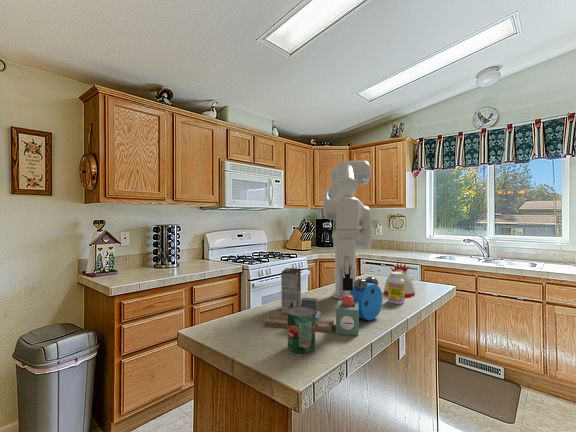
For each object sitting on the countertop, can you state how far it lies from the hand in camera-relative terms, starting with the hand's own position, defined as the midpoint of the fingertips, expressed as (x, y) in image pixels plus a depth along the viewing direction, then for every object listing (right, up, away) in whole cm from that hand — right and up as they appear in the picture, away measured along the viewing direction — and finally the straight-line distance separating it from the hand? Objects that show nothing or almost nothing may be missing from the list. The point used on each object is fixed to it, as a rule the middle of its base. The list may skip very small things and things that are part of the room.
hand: (347, 289), depth 102 cm
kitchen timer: (+34, -13, +47) cm, 59 cm away
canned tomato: (-16, -14, -15) cm, 26 cm away
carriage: (-13, -11, +4) cm, 17 cm away
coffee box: (-18, -13, +21) cm, 31 cm away
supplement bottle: (+27, -13, +32) cm, 44 cm away
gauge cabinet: (0, -13, +1) cm, 13 cm away
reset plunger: (0, -7, +1) cm, 7 cm away
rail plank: (-16, -13, +4) cm, 21 cm away
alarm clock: (+9, -13, +11) cm, 19 cm away
